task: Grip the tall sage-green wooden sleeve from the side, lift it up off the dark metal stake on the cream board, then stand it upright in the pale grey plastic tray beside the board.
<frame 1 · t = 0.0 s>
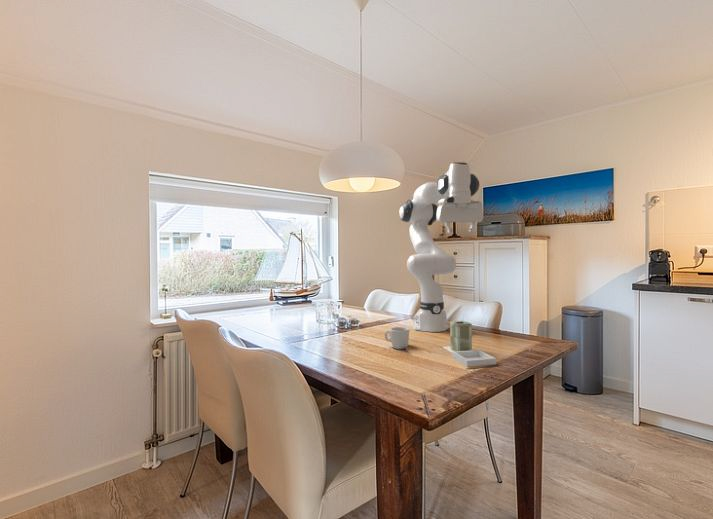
hand: (460, 232, 151), 48 cm above the table, tool pointing down, fingers open, 8 cm apart
sleeve: (461, 350, 140), point 1 cm above the table, touching stake board
stake board: (461, 352, 140), on the table
cup: (396, 347, 150), on the table
tray: (473, 363, 127), on the table
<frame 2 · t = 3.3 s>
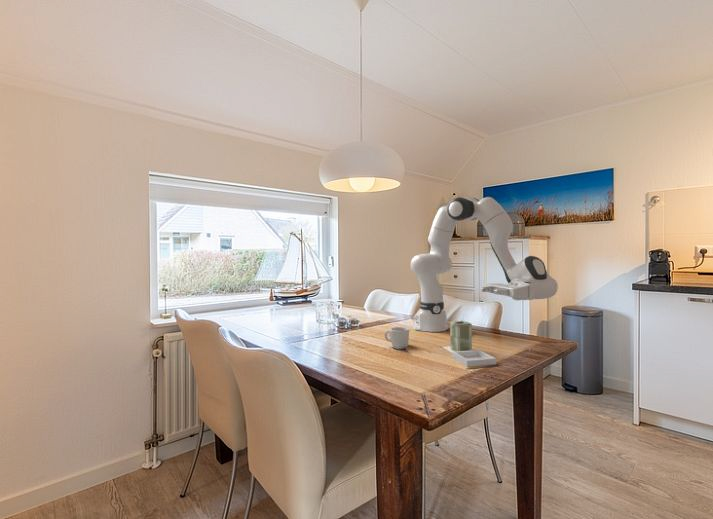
hand: (488, 290, 142), 24 cm above the table, tool horizontal, fingers open, 8 cm apart
nothing on the table moved.
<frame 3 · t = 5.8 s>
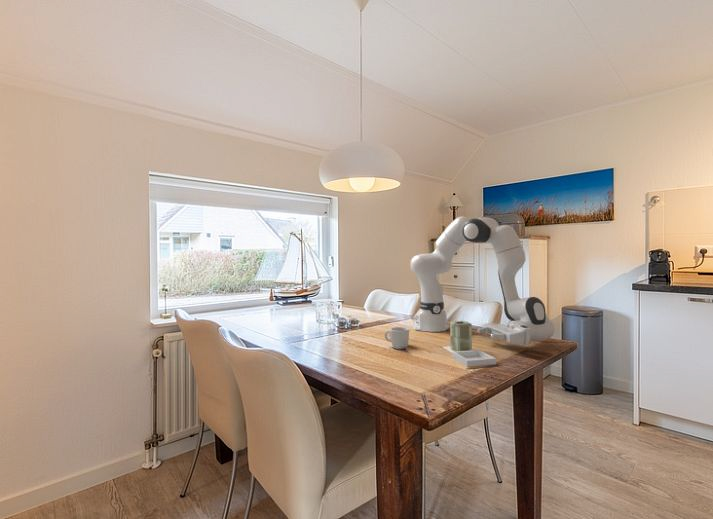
hand: (484, 333, 142), 7 cm above the table, tool horizontal, fingers open, 8 cm apart
nothing on the table moved.
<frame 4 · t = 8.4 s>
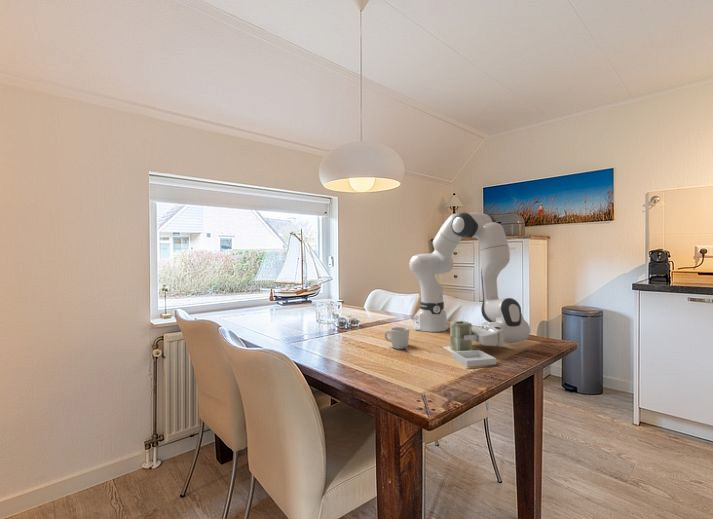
hand: (458, 335, 140), 7 cm above the table, tool horizontal, fingers closed on sleeve, 6 cm apart
sleeve: (461, 350, 140), point 1 cm above the table, touching gripper, stake board
everything else where it was.
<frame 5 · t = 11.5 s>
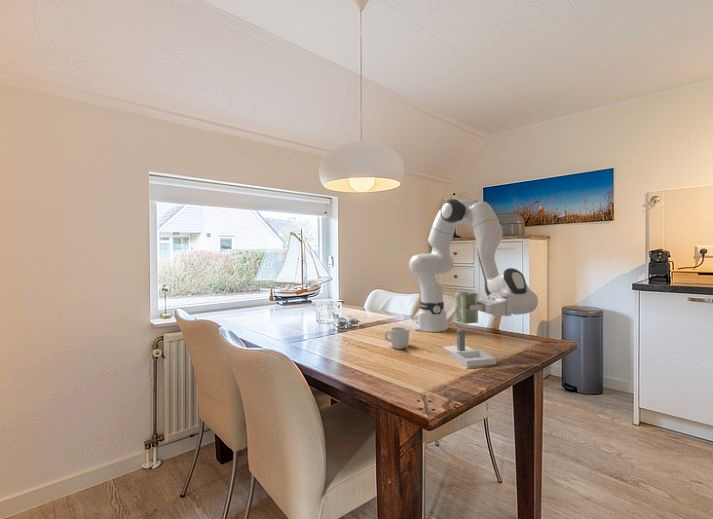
hand: (464, 306, 134), 19 cm above the table, tool horizontal, fingers closed on sleeve, 6 cm apart
sleeve: (466, 321, 135), point 13 cm above the table, touching gripper
everything else where it was.
when the fingers open (8 cm above the table, at t = 14.6 s): sleeve drops 1 cm, resting on tray.
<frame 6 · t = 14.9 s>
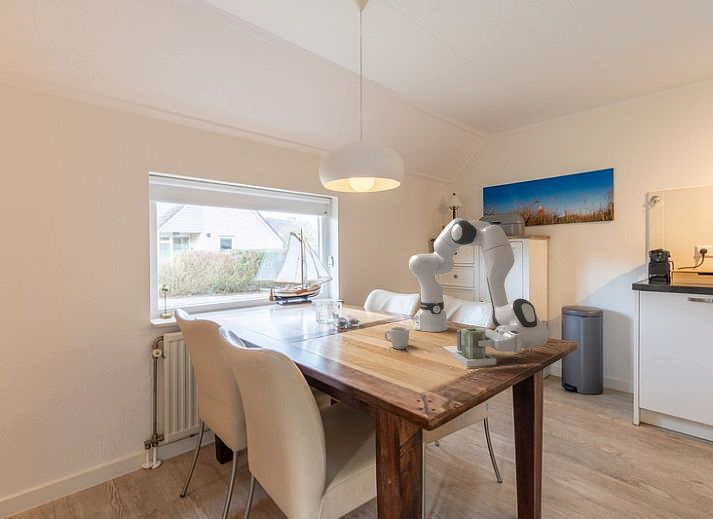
hand: (471, 340, 127), 8 cm above the table, tool horizontal, fingers open, 8 cm apart
sleeve: (473, 360, 127), point 1 cm above the table, touching tray
everything else where it was.
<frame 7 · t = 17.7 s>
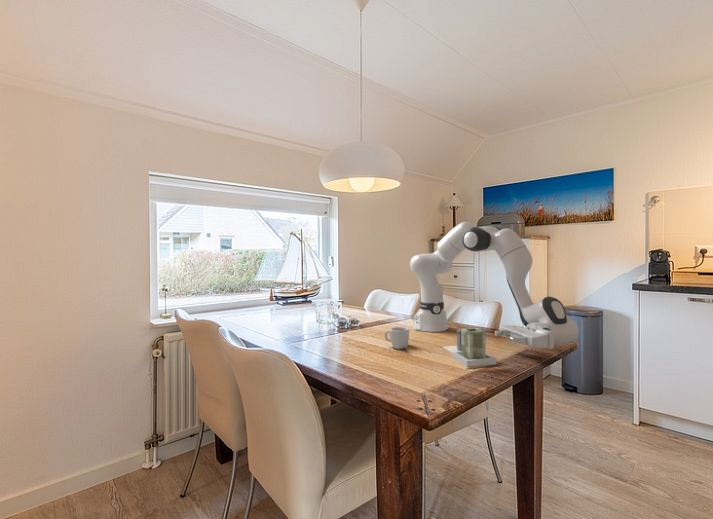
hand: (503, 336, 130), 9 cm above the table, tool horizontal, fingers open, 8 cm apart
nothing on the table moved.
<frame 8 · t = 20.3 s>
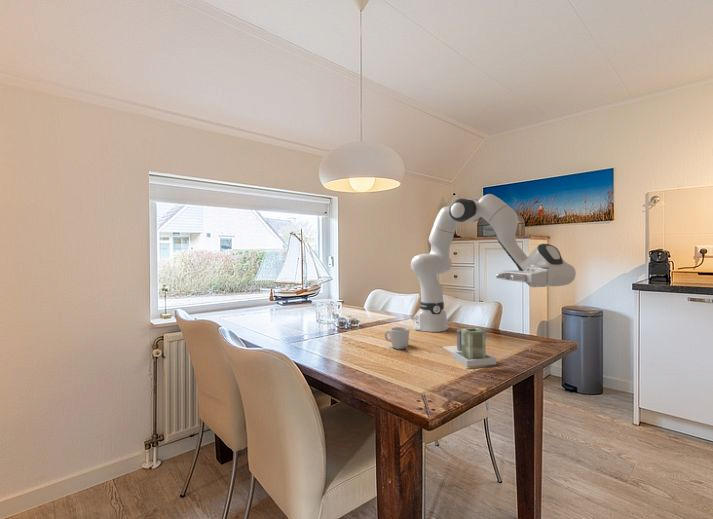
hand: (504, 277, 137), 30 cm above the table, tool horizontal, fingers open, 8 cm apart
nothing on the table moved.
at the end: sleeve 0.1 cm off-centre on the tray, point 1.0 cm above the tray's base; sleeve tilted 0°; the gripper is holding nothing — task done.
